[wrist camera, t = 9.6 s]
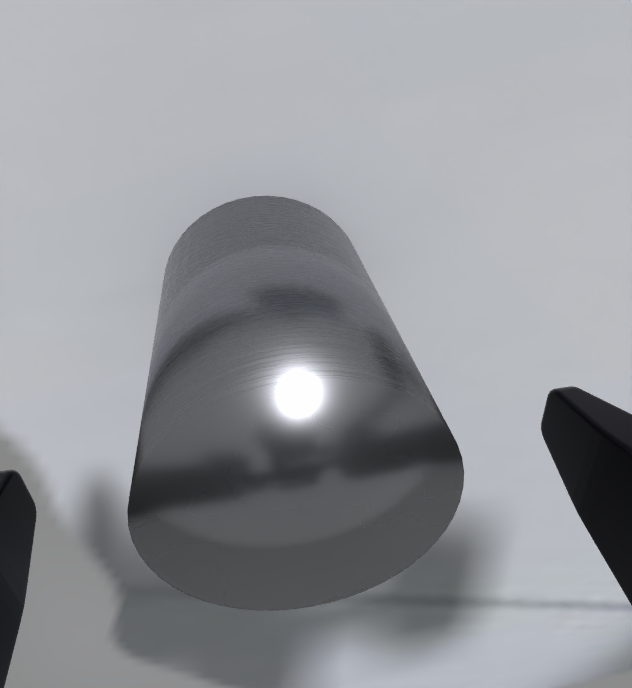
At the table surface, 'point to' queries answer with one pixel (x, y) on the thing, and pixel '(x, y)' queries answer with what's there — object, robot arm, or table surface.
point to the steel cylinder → (283, 420)
